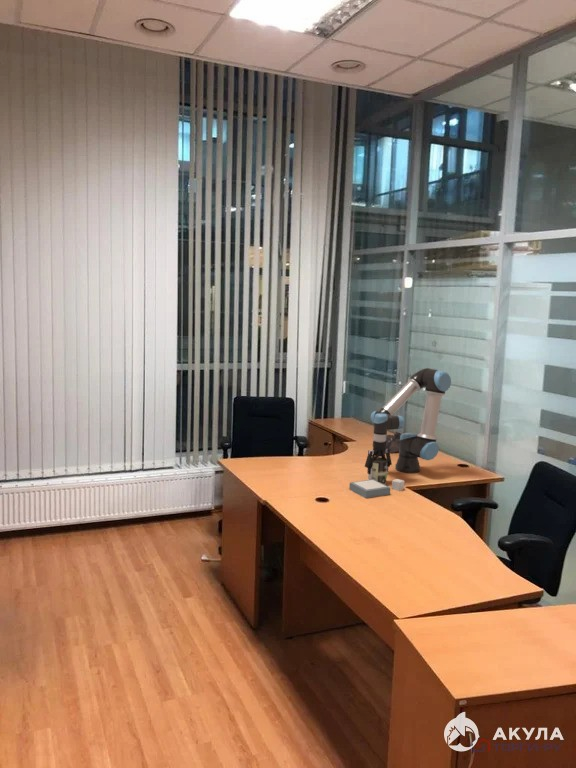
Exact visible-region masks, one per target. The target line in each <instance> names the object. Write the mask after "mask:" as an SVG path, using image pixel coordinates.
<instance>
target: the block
mask: <svg viewBox="0 0 576 768" xmlns="http://www.w3.org/2000/svg"><path fill="white" fill-rule="evenodd" d="M391 490H394V491H397V492H401V491H404V490H405V480H404V479H399V478H396V479H395V478H394V479H393V480H391Z"/></svg>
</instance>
